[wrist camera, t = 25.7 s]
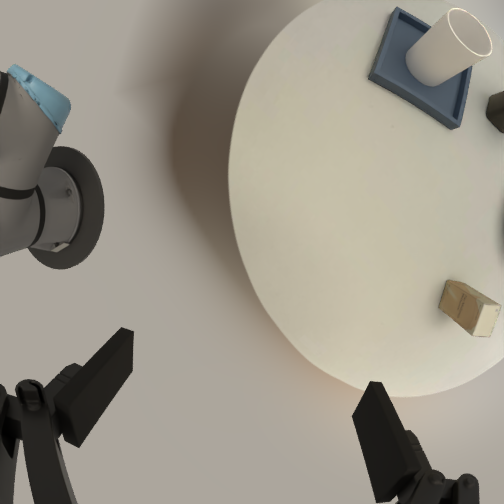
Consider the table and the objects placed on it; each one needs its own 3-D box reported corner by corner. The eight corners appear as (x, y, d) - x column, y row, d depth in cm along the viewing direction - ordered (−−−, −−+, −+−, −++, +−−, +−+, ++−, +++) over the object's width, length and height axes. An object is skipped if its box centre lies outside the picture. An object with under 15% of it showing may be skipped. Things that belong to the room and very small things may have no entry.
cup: (428, 94, 35) (479, 65, 21) (396, 58, 34) (437, 17, 20) (450, 74, 34) (499, 45, 20) (421, 40, 33) (462, 2, 19)
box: (446, 279, 41) (485, 301, 30) (464, 282, 41) (503, 304, 30) (437, 309, 42) (472, 337, 31) (455, 311, 42) (490, 338, 31)
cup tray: (368, 79, 36) (373, 72, 33) (391, 14, 33) (396, 6, 30) (450, 129, 36) (460, 127, 34) (465, 61, 33) (473, 56, 31)
